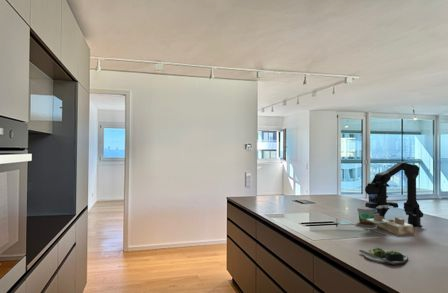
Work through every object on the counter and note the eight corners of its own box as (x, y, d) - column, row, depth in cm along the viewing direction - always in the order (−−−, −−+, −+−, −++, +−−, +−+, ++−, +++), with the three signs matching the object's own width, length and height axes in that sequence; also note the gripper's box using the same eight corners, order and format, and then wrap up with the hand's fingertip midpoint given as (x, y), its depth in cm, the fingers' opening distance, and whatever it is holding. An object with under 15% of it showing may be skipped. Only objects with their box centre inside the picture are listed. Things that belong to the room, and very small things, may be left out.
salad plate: (352, 258, 139) (352, 248, 139) (366, 249, 152) (366, 240, 152) (400, 269, 125) (400, 258, 125) (410, 258, 138) (410, 248, 138)
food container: (356, 223, 204) (356, 208, 204) (357, 222, 209) (357, 207, 209) (377, 225, 198) (376, 210, 198) (377, 223, 204) (377, 208, 204)
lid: (402, 223, 187) (402, 216, 187) (412, 227, 178) (412, 220, 178) (387, 224, 186) (387, 217, 186) (397, 227, 177) (397, 220, 177)
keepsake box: (391, 226, 197) (391, 219, 197) (413, 234, 177) (413, 226, 177) (376, 226, 196) (376, 219, 196) (397, 235, 176) (397, 227, 176)
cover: (381, 219, 196) (381, 213, 196) (390, 222, 187) (390, 216, 187) (366, 220, 195) (366, 214, 195) (375, 223, 186) (374, 217, 186)
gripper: (387, 192, 200) (387, 215, 200) (360, 192, 198) (360, 216, 198) (398, 194, 189) (399, 219, 189) (370, 194, 187) (370, 220, 187)
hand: (381, 218), depth 191 cm, fingers closed
